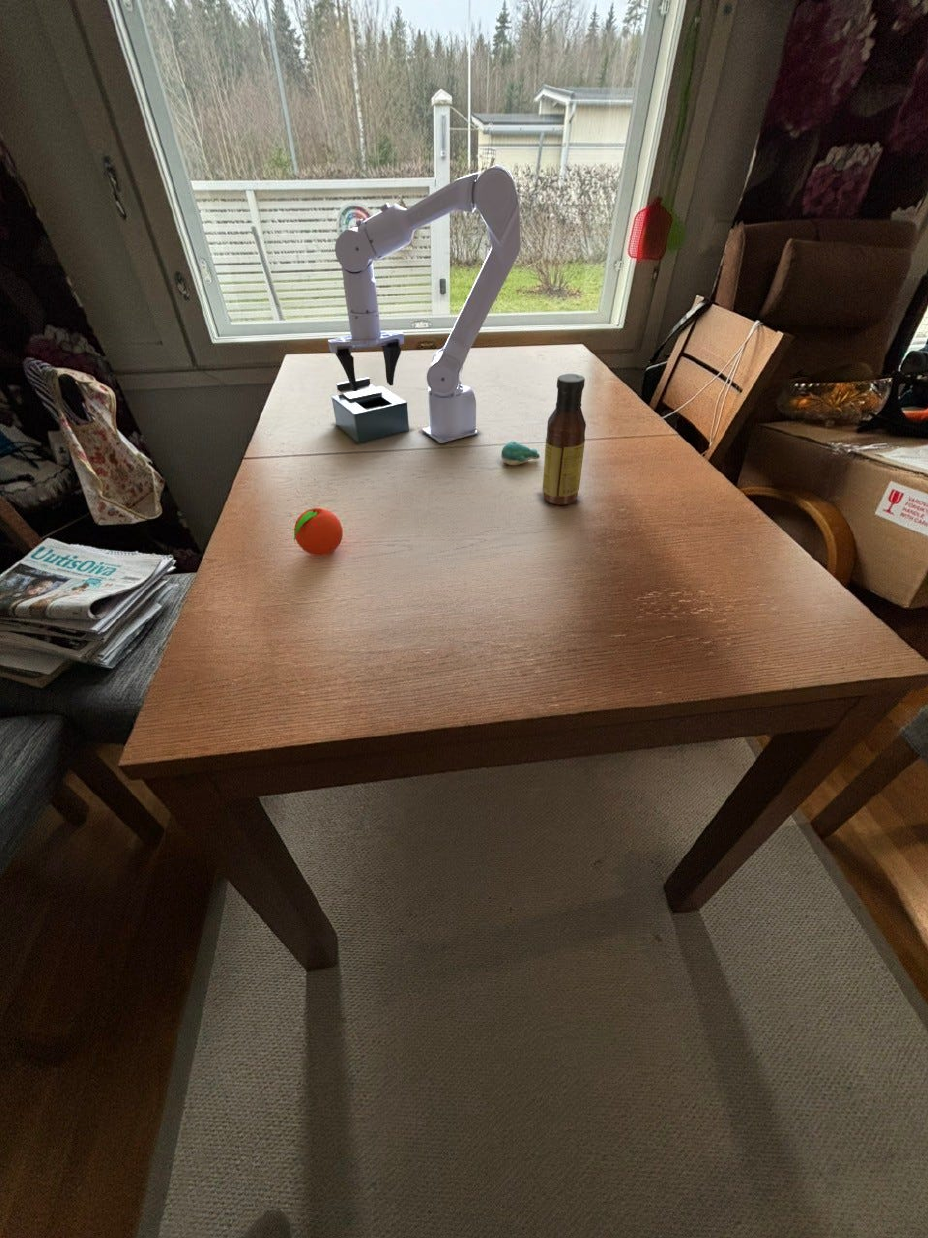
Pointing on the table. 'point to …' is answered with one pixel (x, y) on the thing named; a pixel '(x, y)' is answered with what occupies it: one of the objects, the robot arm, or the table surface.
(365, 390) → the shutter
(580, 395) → the sauce bottle
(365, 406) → the sliding lid box
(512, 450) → the whale figurine
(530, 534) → the table surface
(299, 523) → the clementine
